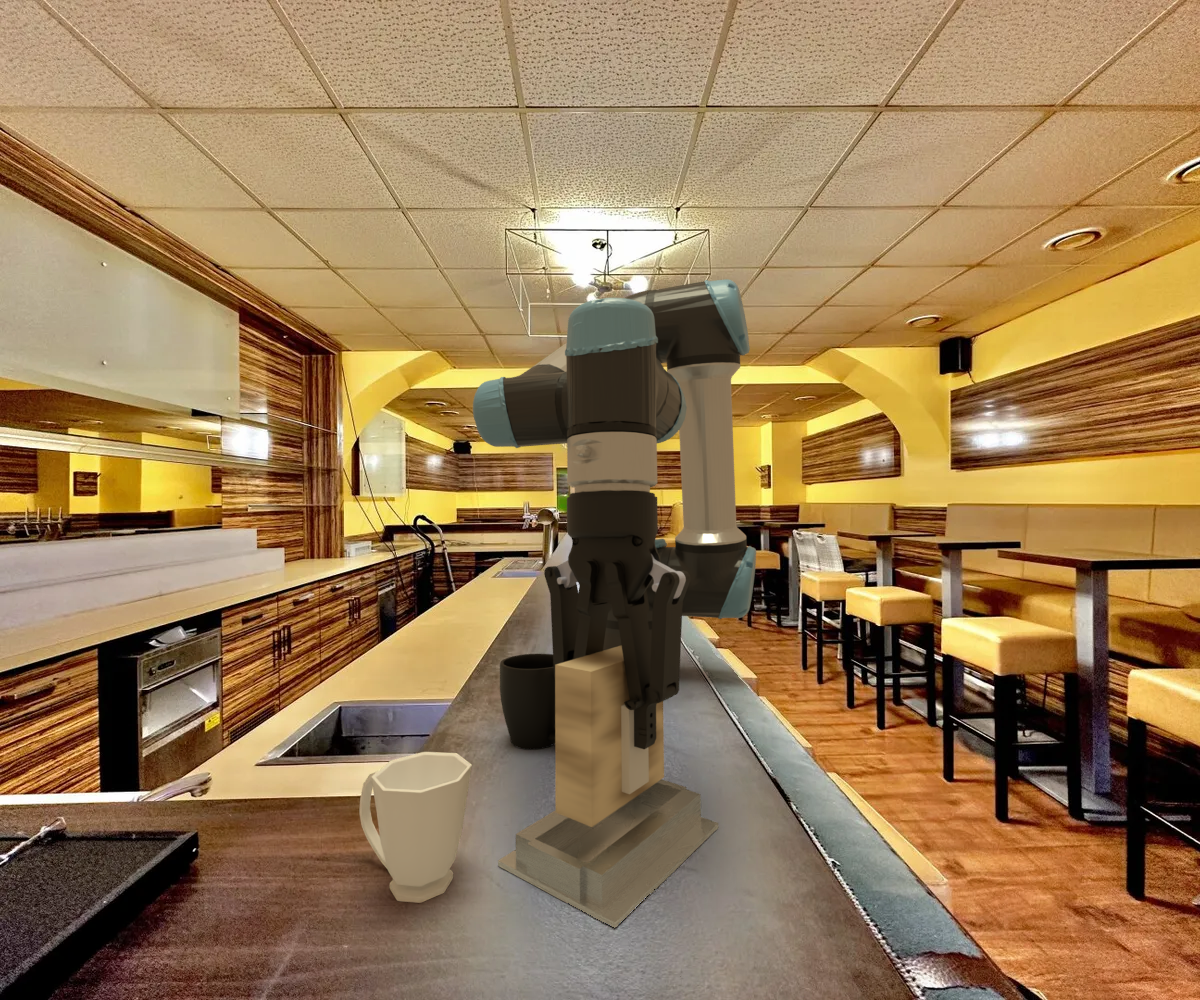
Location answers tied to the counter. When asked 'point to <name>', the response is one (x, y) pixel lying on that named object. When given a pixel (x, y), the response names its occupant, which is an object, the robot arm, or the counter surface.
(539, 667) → the mug
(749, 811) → the counter surface
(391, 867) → the cup
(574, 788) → the wooden block
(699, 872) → the counter surface
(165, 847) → the counter surface
